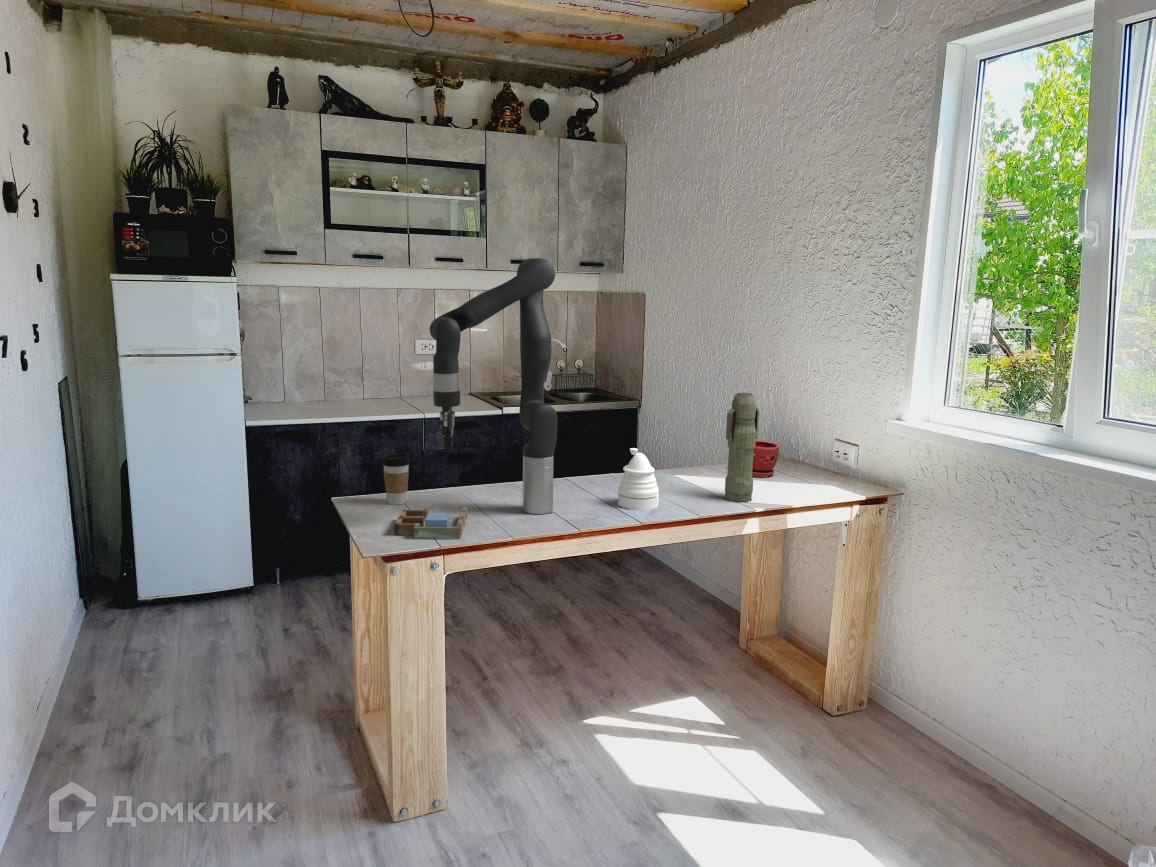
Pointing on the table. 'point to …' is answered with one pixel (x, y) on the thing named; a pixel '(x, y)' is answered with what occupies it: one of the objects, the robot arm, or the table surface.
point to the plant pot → (764, 458)
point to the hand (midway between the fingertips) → (448, 448)
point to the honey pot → (638, 484)
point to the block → (437, 520)
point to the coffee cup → (396, 477)
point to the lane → (414, 525)
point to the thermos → (741, 447)
